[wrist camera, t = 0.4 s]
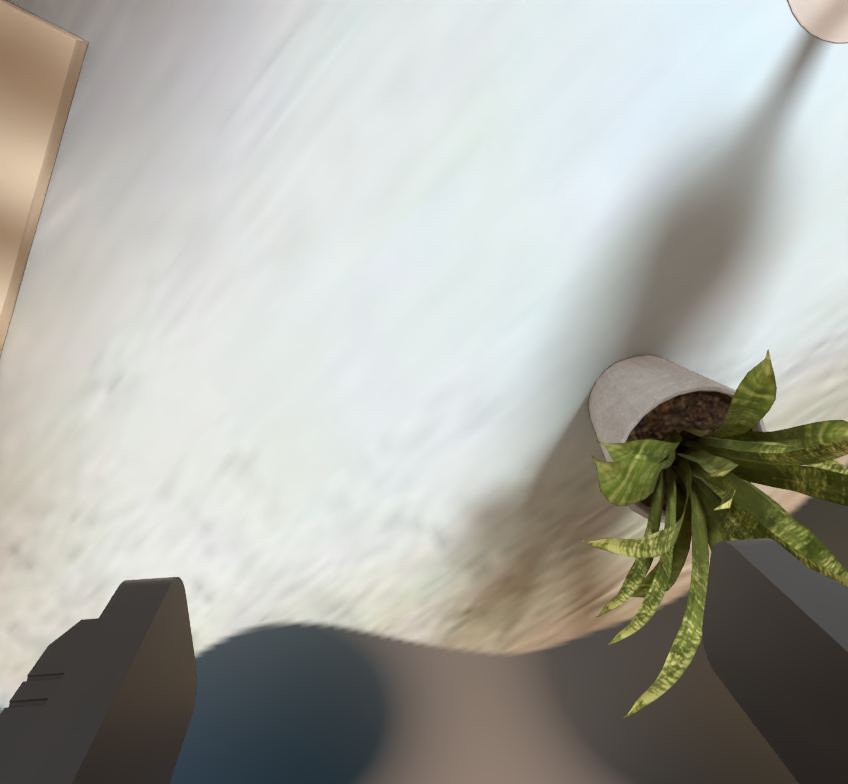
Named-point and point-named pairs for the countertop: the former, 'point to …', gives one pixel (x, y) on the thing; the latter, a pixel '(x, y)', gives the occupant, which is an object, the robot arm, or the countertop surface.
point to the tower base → (29, 132)
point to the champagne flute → (823, 18)
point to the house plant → (703, 482)
